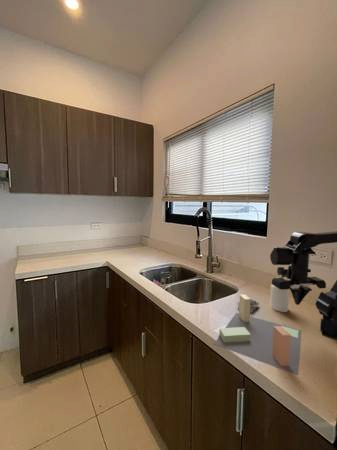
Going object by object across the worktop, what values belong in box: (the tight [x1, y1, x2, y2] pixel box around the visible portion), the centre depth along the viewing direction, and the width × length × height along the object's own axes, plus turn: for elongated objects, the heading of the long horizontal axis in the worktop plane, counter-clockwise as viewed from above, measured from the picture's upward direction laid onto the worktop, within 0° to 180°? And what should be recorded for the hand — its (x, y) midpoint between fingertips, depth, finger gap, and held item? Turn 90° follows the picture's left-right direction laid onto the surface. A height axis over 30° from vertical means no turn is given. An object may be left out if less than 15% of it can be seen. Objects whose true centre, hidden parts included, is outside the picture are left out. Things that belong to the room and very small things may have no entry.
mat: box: [213, 312, 302, 375], centre depth 83 cm, size 26×28×1 cm
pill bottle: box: [269, 276, 290, 313], centre depth 107 cm, size 8×8×15 cm
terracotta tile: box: [272, 326, 291, 366], centre depth 70 cm, size 2×5×10 cm, turn 6°
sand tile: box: [238, 293, 251, 322], centre depth 96 cm, size 2×5×10 cm, turn 6°
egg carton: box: [237, 298, 260, 314], centre depth 107 cm, size 11×8×4 cm
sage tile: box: [218, 327, 251, 342], centre depth 83 cm, size 2×5×10 cm
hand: (297, 304), depth 86 cm, fingers closed
